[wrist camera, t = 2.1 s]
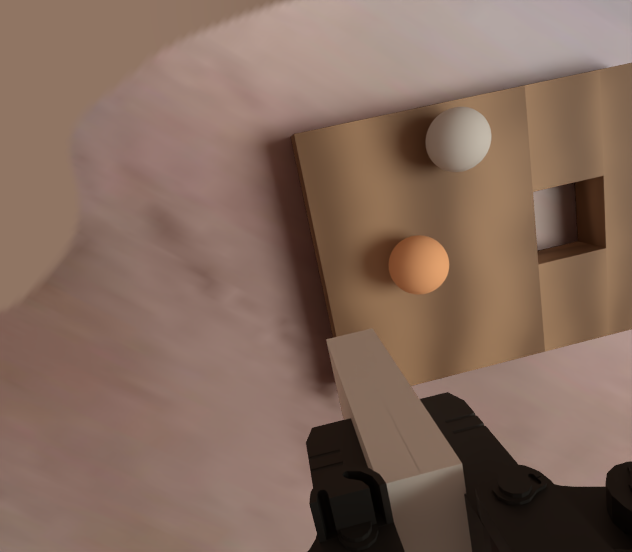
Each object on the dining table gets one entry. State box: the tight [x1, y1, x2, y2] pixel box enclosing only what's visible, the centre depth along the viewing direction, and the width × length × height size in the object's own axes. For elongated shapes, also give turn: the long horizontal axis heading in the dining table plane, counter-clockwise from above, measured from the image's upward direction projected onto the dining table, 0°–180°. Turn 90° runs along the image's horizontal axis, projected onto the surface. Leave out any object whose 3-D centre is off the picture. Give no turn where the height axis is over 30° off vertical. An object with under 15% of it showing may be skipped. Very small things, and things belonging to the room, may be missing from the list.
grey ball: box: [426, 107, 491, 172], centre depth 23 cm, size 3×3×3 cm
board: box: [291, 63, 632, 386], centre depth 27 cm, size 20×16×2 cm
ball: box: [389, 235, 449, 295], centre depth 24 cm, size 3×3×3 cm
